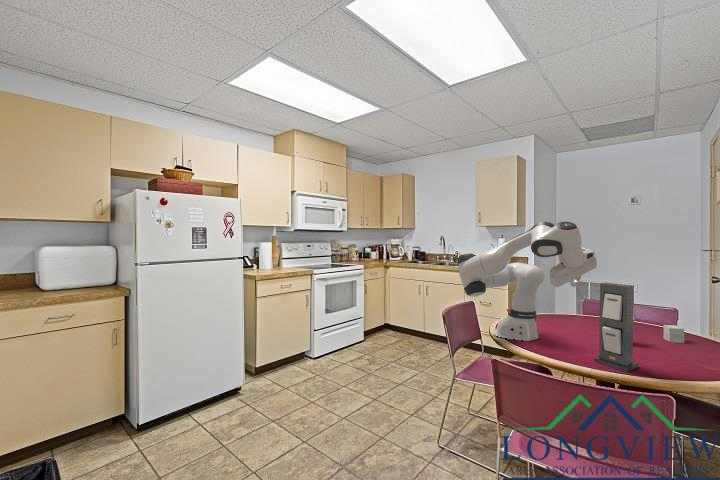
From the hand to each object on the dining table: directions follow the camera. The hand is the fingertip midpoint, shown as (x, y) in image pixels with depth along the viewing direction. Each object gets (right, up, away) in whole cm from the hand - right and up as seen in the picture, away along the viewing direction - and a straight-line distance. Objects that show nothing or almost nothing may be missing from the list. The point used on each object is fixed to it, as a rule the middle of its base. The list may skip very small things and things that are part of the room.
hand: (575, 285), depth 145 cm
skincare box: (+67, -32, +27) cm, 79 cm away
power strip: (+15, -33, -2) cm, 37 cm away
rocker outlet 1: (+14, -27, -3) cm, 31 cm away
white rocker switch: (+12, -13, -5) cm, 18 cm away
